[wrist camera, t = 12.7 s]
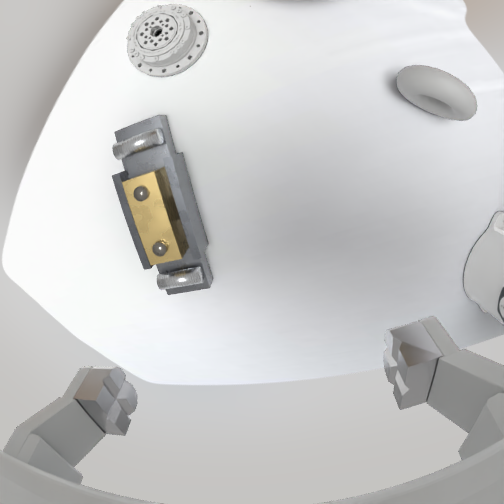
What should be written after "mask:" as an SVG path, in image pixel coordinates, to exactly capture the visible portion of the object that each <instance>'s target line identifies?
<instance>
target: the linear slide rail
mask: <svg viewBox="0 0 504 504" xmlns="http://www.w3.org/2000/svg"><path fill="white" fill-rule="evenodd" d="M115 136H116V140H117V143H115V144H114V145H113V154H114V156H115V157H116V159H118V160H120V159H122V162H123V166H124V169H125V171H123V172H121V173H118V174H115V175H113V176H112V178H113V181H114V184H115V188H116V191H117V194H118V197H119V200H120V204H121V207H122V210H123V213H124V216H125V219H126V222H127V225H128V227H129V230H130V233H131V236H132V239H133V241H134V244H135V247H136V250H137V252H138V255H139V258H140V260H141V263H142V265H143V268H144V270H145V269H150V268H152V266H153V265H150V262H149V260H148V257H147V254H146V252H145V249H144V246H143V244H142V241H141V238H140V235H139V233H138V230H137V227H136V224H135V221H134V218H133V215H132V212H131V209H130V206H129V203H128V200H127V197H126V194H125V191H124V188H123V184H122V182H124V181H126V180H128V179H131V178H133V177H135V176H138V175H141V174H144V173H147V172H150V171H153V170H157V169H160V168H163V167H165V170H166V173H167V177H168V180H169V184H170V187H171V190H172V194H173V196H174V200H175V203H176V206H177V210H178V213H179V217H180V220H181V223H182V226H183V229H184V232H185V235H186V239H187V242H188V245H189V248H188V250H187V251H186V253H185V255H184V256H183V258H182V259H179V260H174V261H169V262H165V263H160V264H156V266H157V268H158V271H159V275H158V276H157V284H158V287H159V289H160V290H165V289H166V291H167V294H168V295H171V294H177V293H183V292H189V291H195V290H201V289H207V288H210V287H211V283H212V280H213V277H212V274H211V271H210V267H209V264H208V261H207V258H206V255H205V250H206V247H207V245H208V241H207V238H206V234H205V231H204V228H203V224H202V221H201V217H200V214H199V210H198V207H197V203H196V200H195V196H194V193H193V189H192V186H191V182H190V179H189V175H188V171H187V168H186V164H185V160H184V156H183V153H178V154H176V151H175V148H174V144H173V140H172V136H171V132H170V128H169V124H168V121H167V117H166V115H157V116H155V117H152V118H149V119H146V120H144V121H141V122H138V123H136V124H133V125H131V126H128V127H126V128H123V129H121V130H118V131H116V132H115Z"/></svg>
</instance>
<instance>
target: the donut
mask: <svg viewBox="0 0 504 504" xmlns="http://www.w3.org/2000/svg"><path fill="white" fill-rule="evenodd" d="M397 87H398V90H399V91H400V93H401V94H402V95H403V96H404V97H405V98H406V99H407V100H409V101H410V102H411V103H413V104H414V105H416V106H418V107H419V108H422V109H424V110H426V111H428V112H430V113H432V114H435V115H437V116H440V117H443V118H447V119H451V120H457V121H464V120H469V119H471V118H472V117H473V116H474V115H475V114H476V111H477V101H476V98H475V95H474V94H473V92H472V91H471V90H470V88H469V87H468V86H467V85H466V84H464V83H463V82H462V81H461V80H459V79H458V78H456V77H454V76H453V75H451V74H449V73H447V72H445V71H442V70H440V69H437V68H433V67H429V66H422V65H412V66H407V67H405V68H404V69H402V70H401V71H400V72H399V73H398V75H397Z"/></svg>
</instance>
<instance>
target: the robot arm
mask: <svg viewBox="0 0 504 504" xmlns="http://www.w3.org/2000/svg"><path fill="white" fill-rule="evenodd" d="M464 289H465V292H466V294H467V296H468V297H469V298H470V299H471V300H472V301H474V302H476V303H477V304H479V306H480V308H481V310H482V311H483V312H484V313H490V314H491V315H492V316H493V317H494V318H496V319H497V320H498V321H499V322H500V323H501V324H503V325H504V212H501V211H498V212H496V213H495V215H494V217H493V219H492V221H491V223H490V225H489V227H488V229H487V230H486V232H485V233H484V234H483V235H482V236H481V237H480V239H479V240H478V241H477V243H476V244H475V246H474V247H473V249H472V251H471V253H470V255H469V258H468V260H467V263H466V267H465V271H464ZM385 343H386V345H387V349H386V350H385V351H384V368H385V372H386V376H387V378H388V381H389V382H390V383H392V384H393V385H394V391H393V394H394V396H395V399H396V402H397V404H398V407H399V409H400V410H402V409H405V408H408V407H412V406H415V405H418V404H422V403H424V402H427V404H429V405H430V406H431V407H433V408H434V409H435V410H437V411H438V412H440V413H441V414H442V415H444V416H445V417H446V418H448V419H449V420H451V421H452V422H453V423H455V424H456V425H458V426H459V427H460V428H462V429H463V430H465V431H466V432H468V433H469V434H468V436H467V438H466V439H465V441H464V443H463V444H462V446H461V447H460V449H459V451H458V452H459V454H460V457H461V459H462V460H461V461H460V462H457V463H455V464H453V465H450V466H448V467H446V468H444V469H441V470H439V471H436V472H434V473H431V474H429V475H426V476H423V477H421V478H418V479H415V480H412V481H409V482H406V483H403V484H400V485H397V486H394V487H391V488H387V489H384V490H380V491H377V492H372V493H368V494H364V495H360V496H356V497H351V498H346V499H342V500H336V501H330V502H324V503H318V504H504V365H501V364H499V363H497V362H494V361H492V360H490V359H487V358H485V357H483V356H480V355H478V354H475V353H473V352H471V351H468V350H466V349H462V350H459V348H458V347H457V345H456V344H455V343H454V341H453V340H452V338H451V337H450V336H449V334H448V333H447V331H446V330H445V329H444V327H443V326H442V325H441V323H440V322H439V321H438V319H437V318H436V317H434V316H431V317H428V318H424V319H421V320H418V321H416V322H412V323H409V324H405V325H402V326H398V327H395V328H391V329H387V330H386V332H385ZM125 377H126V375H125V373H124V372H123V371H122V369H121V368H118V367H99V366H95V367H90V366H84V367H82V368H80V370H79V371H78V373H77V374H76V376H75V377H74V379H73V381H72V382H71V384H70V386H69V387H68V389H67V391H66V392H65V394H64V395H63V397H62V398H60V397H59V398H58V399H56V400H55V401H53V402H52V403H50V404H49V405H48V406H46V407H45V408H43V409H42V410H40V411H39V412H38V413H36V414H35V415H33V416H32V417H30V418H29V419H27V420H26V421H25V422H23V423H22V424H20V425H19V426H17V427H16V429H15V431H14V432H13V434H12V436H11V437H10V439H9V441H8V443H7V445H6V446H5V448H4V450H3V452H2V451H0V504H163V503H155V502H149V501H144V500H139V499H134V498H129V497H124V496H120V495H116V494H112V493H108V492H104V491H101V490H97V489H93V488H90V487H87V486H84V485H81V481H82V479H83V476H82V474H81V473H80V472H79V471H77V470H76V469H75V468H74V467H75V466H76V465H77V464H78V463H79V462H80V461H81V460H82V459H83V458H84V456H86V454H88V453H89V452H90V451H91V450H92V449H93V447H95V445H96V444H97V443H98V442H99V441H100V440H101V439H102V438H103V437H104V436H105V435H106V434H112V435H123V436H125V435H126V432H127V430H128V427H129V424H130V422H131V419H130V416H129V415H130V414H131V413H133V412H134V411H135V409H136V406H137V394H136V390H135V389H134V387H133V385H131V384H130V383H129V382H127V381H126V380H125Z"/></svg>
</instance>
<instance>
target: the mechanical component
mask: <svg viewBox="0 0 504 504" xmlns="http://www.w3.org/2000/svg"><path fill="white" fill-rule="evenodd" d="M160 31H162V34H161V33H160ZM202 34H203V35H202ZM156 35H158V37H156ZM207 37H208V30H207V27H206V24H205V22H204V20H203V18H202V17H201V16H200V14H199V13H198V12H196V11H195V10H194V9H192V8H190V7H187V6H184V5H178V4H169V5H162V6H161V5H157V7H154V8H151V9H149V10H147V11H143V12H142V14H141V15H140V16H138V17H136V20H135V21H134V22H133V23H132V24H131V28H130V30H129V33H128V36H127V38H126V39H127V40H128V43H127V53H128V56H129V59H130V61H131V63H132V64H133V65H134V66H135V67H136V69H138V70H140V71H142V72H144V73H145V74H148V75H151V76H157V77H164V76H171V75H175V74H177V73H180V72H182V71H184V70H186V69H187V68H188V67H190V66H191V65H192V64H194V63H195V62H196V61H197V60H198V58H199V57H200V56H201V54H202V53H203V51H204V49H205V46H206V43H207ZM190 58H192V59H190ZM165 71H166V72H165Z"/></svg>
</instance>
